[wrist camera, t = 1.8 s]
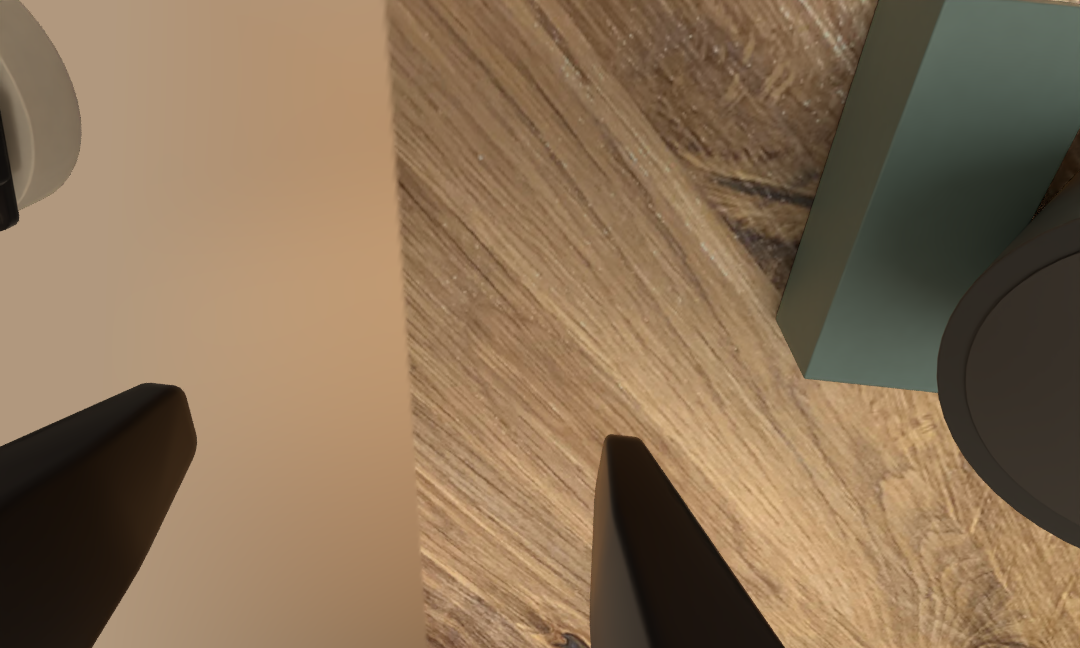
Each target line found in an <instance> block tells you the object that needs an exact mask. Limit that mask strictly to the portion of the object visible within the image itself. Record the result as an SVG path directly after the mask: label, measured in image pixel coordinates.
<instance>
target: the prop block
mask: <svg viewBox="0 0 1080 648" xmlns="http://www.w3.org/2000/svg"><path fill="white" fill-rule="evenodd" d="M1079 128H1080V4H1075V3H1068V2H1061V1H1053V0H879V2H878V5H877V8H876V11H875V14H874V17H873V20H872V23H871V26H870V30H869V33H868V36H867V39H866V42H865V45H864V48H863V51H862V54H861V57H860V60H859V63H858V67H857V70H856V73H855V76H854V79H853V82H852V85H851V88H850V91H849V94H848V97H847V100H846V103H845V107H844V110H843V113H842V116H841V119H840V122H839V125H838V128H837V131H836V134H835V137H834V140H833V144H832V147H831V150H830V153H829V156H828V159H827V162H826V165H825V168H824V171H823V174H822V177H821V181H820V184H819V187H818V190H817V193H816V196H815V199H814V202H813V205H812V208H811V211H810V214H809V217H808V221H807V224H806V227H805V230H804V233H803V236H802V239H801V242H800V245H799V248H798V251H797V254H796V258H795V261H794V264H793V267H792V270H791V273H790V276H789V279H788V282H787V285H786V288H785V291H784V295H783V298H782V301H781V304H780V307H779V310H778V313H777V316H776V321H777V323H778V325H779V327H780V329H781V332H782V334H783V336H784V338H785V340H786V342H787V344H788V346H789V348H790V350H791V352H792V354H793V356H794V358H795V361H796V363H797V365H798V367H799V369H800V371H801V373H802V375H803V377H804V378H805V379H813V380H823V381H832V382H841V383H851V384H860V385H869V386H879V387H888V388H897V389H907V390H916V391H925V392H935V393H938V387H937V378H936V375H937V357H938V352H939V348H940V343H941V338H942V335H943V333H944V330H945V328H946V325H947V323H948V320H949V318H950V316H951V314H952V313H953V311H954V309H955V308H956V306H957V304H958V303H959V301H960V299H961V298H962V296H963V295H964V294H965V293H966V292H967V290H968V289H969V288H970V287H971V285H972V284H973V283H974V282H975V281H976V279H977V278H978V277H979V276H980V275H981V274H982V273H983V272H984V271H985V270H986V269H987V268H988V267H989V266H990V265H991V264H992V262H993V261H994V260H995V259H996V258H997V257H998V256H999V255H1000V254H1001V253H1002V252H1003V251H1004V250H1005V249H1006V248H1007V247H1008V246H1009V244H1010V243H1011V242H1012V241H1013V240H1014V239H1015V238H1016V237H1017V236H1018V235H1019V234H1020V233H1021V232H1022V231H1023V230H1024V229H1025V227H1026V226H1027V225H1028V224H1029V223H1030V222H1031V220H1032V218H1033V216H1034V215H1035V213H1036V211H1037V209H1038V207H1039V205H1040V203H1041V201H1042V199H1043V197H1044V195H1045V194H1046V192H1047V190H1048V188H1049V186H1050V184H1051V182H1052V180H1053V178H1054V176H1055V174H1056V172H1057V171H1058V169H1059V167H1060V165H1061V163H1062V161H1063V159H1064V157H1065V155H1066V153H1067V151H1068V149H1069V148H1070V146H1071V144H1072V142H1073V140H1074V138H1075V136H1076V134H1077V132H1078V130H1079Z"/></svg>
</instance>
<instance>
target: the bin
mask: <svg viewBox="0 0 1080 648" xmlns="http://www.w3.org/2000/svg"><path fill="white" fill-rule="evenodd" d="M936 378H937V387H938V396H939V401H940V404H941V408H942V412H943V415H944V419H945V421H946V423H947V425H948V428H949V430H950V432H951V435H952V437H953V439H954V441H955V442H956V444H957V446H958V447H959V449H960V451H961V452H962V454H963V456H964V457H965V459H966V460H967V461H968V462H969V464H970V465H971V466H972V468H973V469H974V470H975V471H976V473H977V474H978V475H979V476H980V477H981V478H982V480H983V481H984V482H985V483H986V484H987V485H988V486H989V487H990V488H991V489H992V490H993V491H994V492H995V493H996V494H997V495H998V496H1000V497H1001V498H1002V499H1003V500H1004V501H1005V502H1007V503H1008V504H1009V505H1010V506H1011V507H1013V508H1014V509H1015V510H1016V511H1018V512H1019V513H1020V514H1022V515H1023V516H1025V517H1026V518H1028V519H1029V520H1030V521H1032V522H1033V523H1035V524H1036V525H1038V526H1039V527H1041V528H1042V529H1044V530H1046V531H1048V532H1049V533H1051V534H1053V535H1055V536H1056V537H1058V538H1060V539H1062V540H1063V541H1065V542H1067V543H1069V544H1071V545H1074V546H1076V547H1078V548H1080V171H1078V172H1077V173H1076V175H1075V176H1074V177H1073V178H1072V179H1071V180H1070V181H1069V182H1068V183H1067V184H1066V185H1065V186H1064V187H1063V188H1062V189H1061V190H1060V191H1059V193H1058V194H1057V195H1056V196H1055V197H1054V198H1053V199H1052V200H1051V201H1050V202H1049V203H1048V204H1047V205H1046V206H1045V207H1044V208H1043V209H1042V211H1041V212H1040V213H1039V214H1038V215H1037V216H1036V217H1035V218H1034V219H1033V220H1032V221H1031V222H1030V223H1029V224H1028V225H1027V226H1026V227H1025V229H1024V230H1023V231H1022V232H1021V233H1020V234H1019V235H1018V236H1017V237H1016V238H1015V239H1014V240H1013V241H1012V242H1011V243H1010V244H1009V246H1008V247H1007V248H1006V249H1005V250H1004V251H1003V252H1002V253H1001V254H1000V255H999V256H998V257H997V258H996V259H995V260H994V261H993V262H992V264H991V265H990V266H989V267H988V268H987V269H986V270H985V271H984V272H983V273H982V274H981V275H980V276H979V277H978V278H977V279H976V281H975V282H974V283H973V284H972V285H971V287H970V288H969V289H968V290H967V292H966V293H965V294H964V295H963V296H962V298H961V299H960V301H959V303H958V304H957V306H956V308H955V309H954V311H953V313H952V314H951V316H950V318H949V320H948V323H947V325H946V328H945V330H944V333H943V335H942V338H941V343H940V348H939V352H938V357H937V375H936Z"/></svg>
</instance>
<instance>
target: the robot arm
mask: <svg viewBox="0 0 1080 648" xmlns="http://www.w3.org/2000/svg"><path fill="white" fill-rule="evenodd" d="M18 221H19V212H18V206H17V201H16V195H15V190H14V184H13V178H12V173H11V167H10V162H9V156H8V150H7V145H6V139H5V134H4V128H3V122H2V117H1V111H0V231H3V230H6V229H8V228H10V227H12V226H14V225H16V224H17V222H18ZM196 446H197V437H196V432H195V428H194V424H193V421H192V417H191V413H190V409H189V406H188V402H187V398H186V395H185V393H184V392H183V391H182V389H181V388H179V387H177V386H174V385H165V384H156V383H144V384H140V385H138V386H136V387H133V388H131V389H129V390H127V391H124V392H122V393H120V394H118V395H115V396H113V397H111V398H109V399H107V400H104V401H102V402H100V403H97V404H95V405H93V406H91V407H89V408H86V409H84V410H82V411H79V412H77V413H75V414H73V415H70V416H68V417H66V418H64V419H61V420H59V421H57V422H55V423H52V424H50V425H48V426H46V427H43V428H41V429H39V430H37V431H34V432H32V433H30V434H27V435H26V436H23V437H21V438H18V439H16V440H14V441H12V442H10V443H7V444H5V445H3V446H0V648H92V647H93V645H94V643H95V642H96V640H97V638H98V637H99V635H100V634H101V632H102V630H103V629H104V627H105V625H106V624H107V622H108V620H109V619H110V617H111V616H112V614H113V612H114V611H115V609H116V607H117V606H118V604H119V603H120V601H121V599H122V597H123V596H124V594H125V593H126V591H127V589H128V588H129V586H130V584H131V582H132V581H133V579H134V577H135V576H136V574H137V572H138V571H139V569H140V567H141V565H142V563H143V561H144V559H145V557H146V555H147V553H148V551H149V549H150V547H151V545H152V543H153V541H154V539H155V537H156V535H157V533H158V531H159V529H160V526H161V524H162V522H163V520H164V518H165V516H166V514H167V512H168V510H169V508H170V505H171V503H172V501H173V499H174V497H175V495H176V493H177V491H178V489H179V487H180V485H181V483H182V481H183V478H184V476H185V474H186V472H187V470H188V468H189V466H190V464H191V461H192V460H193V457H194V455H195V451H196ZM590 637H591V648H785V647H784V646H783V644H782V643H781V641H780V640H779V638H778V637H777V635H776V634H775V633H774V631H773V630H772V628H771V627H770V625H769V624H768V622H767V621H766V620H765V618H764V617H763V615H762V614H761V612H760V611H759V609H758V608H757V607H756V605H755V604H754V602H753V601H752V599H751V598H750V596H749V595H748V593H747V592H746V591H745V589H744V588H743V586H742V585H741V583H740V582H739V580H738V579H737V578H736V576H735V575H734V573H733V572H732V570H731V569H730V567H729V566H728V565H727V563H726V562H725V560H724V559H723V557H722V556H721V554H720V553H719V551H718V550H717V549H716V547H715V546H714V544H713V543H712V541H711V540H710V538H709V537H708V536H707V534H706V533H705V531H704V530H703V528H702V527H701V525H700V524H699V522H698V521H697V520H696V518H695V517H694V515H693V514H692V512H691V511H690V509H689V508H688V507H687V505H686V504H685V502H684V501H683V499H682V498H681V496H680V495H679V494H678V492H677V491H676V489H675V488H674V486H673V485H672V483H671V482H670V480H669V479H668V478H667V476H666V475H665V473H664V472H663V470H662V469H661V467H660V466H659V465H658V463H657V462H656V460H655V459H654V457H653V456H652V454H651V453H650V451H649V450H648V449H647V447H646V446H645V444H644V443H643V441H642V440H640V439H639V438H637V437H632V436H623V435H614V434H610V435H608V436H607V437H606V438H605V440H604V443H603V449H602V454H601V460H600V465H599V471H598V476H597V482H596V488H595V499H594V520H593V543H592V566H591V589H590Z"/></svg>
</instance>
